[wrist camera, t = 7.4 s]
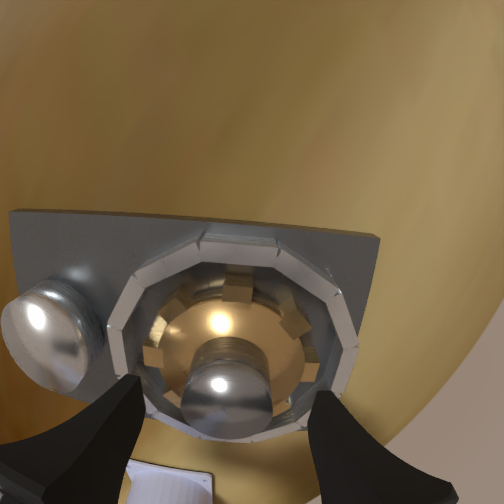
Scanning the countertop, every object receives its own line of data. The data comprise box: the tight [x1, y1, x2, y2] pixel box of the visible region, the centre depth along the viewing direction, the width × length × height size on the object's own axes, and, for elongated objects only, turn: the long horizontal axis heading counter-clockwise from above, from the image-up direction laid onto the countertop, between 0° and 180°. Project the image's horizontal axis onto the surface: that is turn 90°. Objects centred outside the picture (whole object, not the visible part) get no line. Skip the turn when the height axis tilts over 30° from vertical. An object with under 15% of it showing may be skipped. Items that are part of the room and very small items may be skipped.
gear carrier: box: [1, 209, 380, 443], centre depth 13 cm, size 13×20×4 cm, turn 85°
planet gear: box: [143, 272, 320, 440], centre depth 12 cm, size 8×8×4 cm
